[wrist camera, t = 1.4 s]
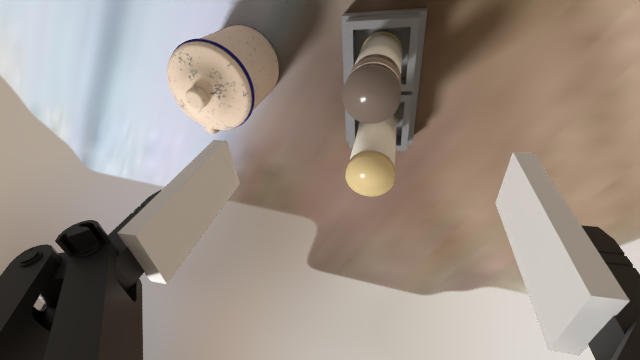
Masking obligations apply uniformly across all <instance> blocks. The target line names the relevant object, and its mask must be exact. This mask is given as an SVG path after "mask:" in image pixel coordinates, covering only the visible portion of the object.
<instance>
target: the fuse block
mask: <svg viewBox="0 0 640 360" xmlns="http://www.w3.org/2000/svg"><path fill="white" fill-rule="evenodd" d="M426 19H427V8H414V9H398V10H383V11H368V12H353V13H344V14H343V15H342V16H341V24H342V49H343V74H344V85H345V83H346V81H347V78H348V77H349V75H350V73H351V71H352V68H353V67H354V65H355V62H356V60H357V58H358V56H359V54H360V52H361V48H362V46H363V44H364V42H365V40H366V39H367V38H368V37H369V36H370V35H371V34H373V33H375V32H377V31H389V32H392V33H394V34H395V35H396V36H397V37H398V38H399V40H400V41H401V44H402V63H401V100H400V104H399V106H398V108H397V113H398V121H397V132H396V151H407V144H413V136H414V127H415V118H416V109H417V100H418V91H419V82H420V73H421V64H422V55H423V46H424V37H425V28H426ZM345 124H346V142H349V149H353V146H354V142H355V139H356V135H357V131H358V128H359V124H360V122H359V121H357V120H355V119H354V118H353V117H351V116H350V115H349V114H348V112H347V111H346V109H345Z"/></svg>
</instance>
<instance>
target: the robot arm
mask: <svg viewBox="0 0 640 360" xmlns="http://www.w3.org/2000/svg"><path fill="white" fill-rule="evenodd" d="M239 184H240V182H239V179H238V175H237V172H236V169H235V166H234V162H233V159H232V156H231V153H230V149H229V146H228V143H227V141H219V140H213V141H212V142H211V143H210V144H209V145H208V146H207V147H206V148H205V149H204V150H203V151H202V152H201V153H200V154H199V155H198V156H197V157H196V158H195V159H194V160H193V161H192V162H191V163H190V164H189V165H188V166H186V167H185V168H184V169H183V170H182V171H181V172H180V173H179V174H178V175H177V176H176V177H175V178H174V179H173V180H172V181H171V182H170V183H169V184H168V185H167V186H166V187H165V188H164V189H163V190H160V191H158V192H156V193H155V194H153V195H151V196H150V197H148V198H147V199H146V200H145V201H144V202H143V203H142V204H141V206H140V207H138V208H137V209H136V210H135V211H134V213H131V214H130V215H129V216H128V217H127V218H126V219H125V220H124V221H123V222H122V223H121V224H120V225H119V226H118V227H116V228H115V229H114V230H113V231H112V232H111V233H110V234H109V235H107V234H106V233H105V231H104V230H103V229H102V227H101V226H100V224H99V223H98V222H96V221H94V220H88V221H83V222H80V223H77V224H75V225H72V226H71V227H69V228H67V229H66V230H64V231H63V232H62V233H61V234H60V235H59V236H58V237H57V239H56V240H55V241H56V243H57V244H58V245H59V246H60V247H61V248H62V249H63V250H64V253H57V252H56V250H55V249H54V248H53V247H52V246H50V245H39V246H36V247H33V248H30V249H28V250H26V251H24V252H23V253H21V254H20V255H19V256H17V257H16V258H15V259H14V260H13V261H12V262H11V263H10V264H9V265H8V267H7V268H6V269H5V271H4V272H3V273H2V275H1V276H0V360H143V333H142V332H143V330H142V284H141V281H140V279H139V278H140V276H141V275H142V274H143V273H144V272H145V274H146V275H147V277H148V278H149V279H150V281H153V282H158V283H164V284H167V283H168V282H169V280H170V279H171V278H172V276H173V275H174V274H175V272H176V271H177V269H178V268H179V266H180V265H181V264H182V263H183V261H184V260H185V258H186V257H187V256H188V254H189V253H190V251H191V250H192V249H193V247H194V246H195V245H196V243H197V242H198V241H199V239H200V238H201V236H202V235H203V234H204V232H205V231H206V230H207V228H208V227H209V225H210V224H211V223H212V221H213V220H214V219H215V217H216V216H217V214H218V213H219V212H220V210H221V209H222V207H223V206H224V205H225V203H226V202H227V201H228V199H229V198H230V197H231V195H232V194H233V192H234V191H235V190H236V188H237V187H238V186H239ZM496 206H497V208H498V211H499V214H500V217H501V219H502V222H503V225H504V228H505V231H506V233H507V236H508V239H509V242H510V244H511V247H512V250H513V253H514V256H515V258H516V261H517V264H518V267H519V270H520V272H521V275H522V278H523V281H524V283H525V286H526V289H527V292H528V295H529V297H530V300H531V303H532V306H533V308H534V310H535V314H536V316H537V320H538V322H539V325H540V328H541V331H542V333H543V336H544V339H545V342H546V345H547V347H548V350H551V351H557V352H563V353H569V354H574V355H580V354H581V353H582V352H583V351H584V350H585V349H586V348H587V346H588V345H589V347H590V349H591V351H592V353H593V355H594V357H595V359H596V360H640V274H639V273H638V271H637V270H636V269H635V268H633V264H632V263H631V262H630V260H629V259H628V258H627V256H624V252H623V251H622V249H621V248H620V247H619V245H618V244H617V243H616V241H615V240H614V239H613V238H612V237H610V236H609V235H608V234H606V233H605V232H604V231H603V230H601V229H600V228H599V227H592V226H581V224H580V223H579V221H578V220H577V218H576V217H575V215H574V214H573V212H572V211H571V209H570V207H569V206H568V204H567V203H566V201H565V200H564V198H563V197H562V195H561V194H560V192H559V190H558V189H557V187H556V186H555V184H554V183H553V181H552V180H551V178H550V176H549V175H548V173H547V172H546V170H545V169H544V167H543V166H542V164H541V163H540V161H539V159H538V158H537V156H536V155H535V153H526V152H513V154H512V156H511V159H510V162H509V165H508V168H507V171H506V174H505V177H504V180H503V183H502V186H501V188H500V191H499V194H498V197H497V200H496ZM37 299H39V300H40V301H42V302H43V303H44V305H43V307H42V309H41V310H40V311H39V310H37V309H36V308H35V307H33V306H34V304H35V302H36V300H37Z"/></svg>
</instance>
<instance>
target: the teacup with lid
mask: <svg viewBox="0 0 640 360" xmlns="http://www.w3.org/2000/svg"><path fill="white" fill-rule="evenodd" d="M167 76H168V83H169V86H170V89H171V92H172V94H173V96H174V98H175V100H176V102H177V103H178V104H179V106H180V107H181V108H182V110H183V111H184V112H185V113H186V114H187V115H188V116H190V117H191V118H192V119H193V120H195V121H196V122H198V123H200V124H201V125H204V126H205V130H206V131H207V132H209V133H211V134H216V133H217V132H219V131H220V130H227V129H232V128H235V127H238V126H240V125H242V124H243V123H244V122H245V121H246V120H247V119H248V118H249V117H250V115H251V113H252V111H253V110H254V109H255V108H256V107H257V106H258V104H259V103H260V102H261V101H262V100H263V99H264V98H265V97H266V96H267V95H268V94H269V93H270V92H271V91H272V90H273V88H274V87H275V85H276V83H277V80H278V76H279V64H278V59H277V56H276V53H275V51H274V49H273V47H272V46H271V44H270V43H269V42H268V40H267V39H266V38H265V37H264V36H263V35H262V34H260V33H259V32H258V31H256V30H254V29H252V28H250V27H247V26H242V25H233V26H229V27H226V28H224V29H222V30H219V31H217V32H215V33H212V34H210V35H207V36H205V37H203V38H200V39H192V40H188V41H185V42H184V43H182V44H180V45H179V46H178V47H177V48H176V49H175V50H174V52H173V54H172V55H171V57H170V60H169V63H168V70H167Z"/></svg>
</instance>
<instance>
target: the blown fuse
mask: <svg viewBox="0 0 640 360" xmlns="http://www.w3.org/2000/svg"><path fill="white" fill-rule="evenodd" d="M401 63H402V44H401V41H400V40H399V38H398V37H397V36H396V35H395V34H394V33H392V32H389V31H377V32H375V33H373V34H371V35H370V36H369V37H368V38H367V39H366V40H365V42H364V44H363V46H362V48H361V52H360V54H359V56H358V58H357V60H356V62H355V65H354V67H353V68H352V71H351V73H350V75H349V77H348V78H347V81H346V83H345V85H344V87H343V91H342V101H343V105H344V107H345V109H346V111H347V112H348V114H349V115H350V116H351V117H353V118H354V119H355V120H357V121H359V122H362V123H366V124H376V123H380V122H383V121H385V120H387V119H388V118H390V117H391V116H392V115H393V114H394V113H395V112H396V110H397V108H398V106H399V104H400V100H401Z"/></svg>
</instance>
